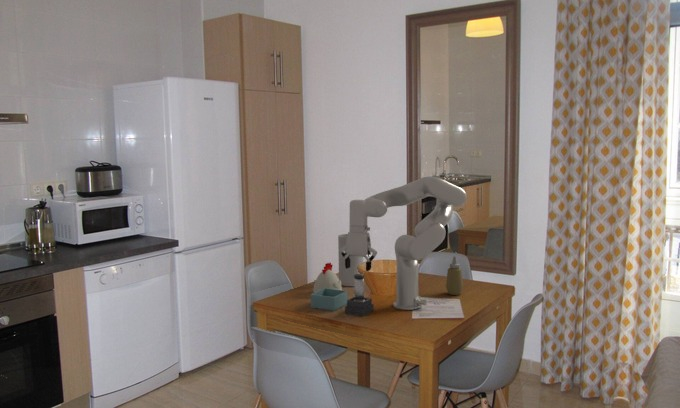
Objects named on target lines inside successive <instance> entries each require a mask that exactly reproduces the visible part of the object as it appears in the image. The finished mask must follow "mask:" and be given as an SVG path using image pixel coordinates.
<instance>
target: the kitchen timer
mask: <svg viewBox="0 0 680 408" xmlns="http://www.w3.org/2000/svg"><path fill="white" fill-rule="evenodd" d="M333 266H334V265H333V264H332V263H331V262H326V263H325V265H324V266H323V269H322V270H321V272H319V274H318V276H317V277H316V279H314V280H313V284H314V285H313V289H312V294H313V293H315V292H317V291H319V290H321V289H324V288H328V289H336V290H343V287H342V285H341V280H339V276H337V274H336V273H335V272H334V271H333Z"/></svg>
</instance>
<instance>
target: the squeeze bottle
mask: <svg viewBox="0 0 680 408" xmlns="http://www.w3.org/2000/svg"><path fill="white" fill-rule="evenodd" d="M460 266H461V264H460V263H458V259H457V256H455V255H454V256H453V257H452V262H450V263H449V268H447V274H446V281H445V282H446V283H445V287H446V291H447V294H449V295H451V296H458V295H461V294H462V290H463V288H464V282H463V271H462V268H461V267H460Z"/></svg>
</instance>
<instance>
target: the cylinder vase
mask: <svg viewBox="0 0 680 408" xmlns="http://www.w3.org/2000/svg"><path fill="white" fill-rule="evenodd" d="M347 235H348V233H342V234H339V235H338V236H337V237H338V238H337V240H338V241H337V242H338V244H337V248H338V253H337V254H338V279H339V280H341V287H342V286H343V287H355V278H354V275H355V274H360V273H359V272H358V269H357V266H358V265H360V264H362V263H363V264H364V257H359V256H350V257H349V258H350V268H347V269H346V266H345V259H344V257H343V256H342V254H341V251H340V248H341V247H343V246H345V245H346V242H347ZM344 251H345V253H346V249H344ZM346 254H347V253H346Z"/></svg>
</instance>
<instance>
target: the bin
mask: <svg viewBox="0 0 680 408" xmlns="http://www.w3.org/2000/svg"><path fill="white" fill-rule="evenodd" d="M348 294H349V291H348V290H343V289H342V290H336V289H328V288H324V289H321V290H319V291H317V292H315V293H313V292H312V293H311V294H310V308H311V309H317V308H318V309H317V310H323V309H324V311H329V312H330V311H332V312H336V311H338V310H340V309H342V308H345V306H347V300H349V299H348V298H349V297H348V296H349V295H348Z"/></svg>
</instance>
